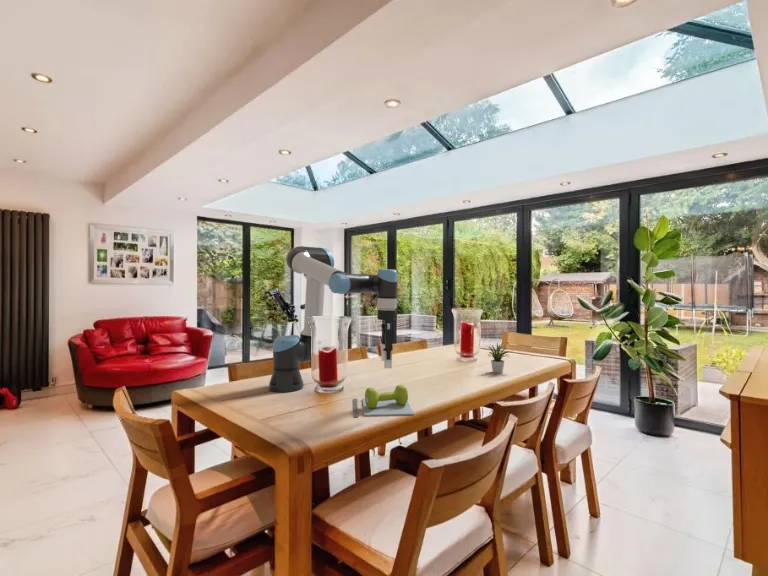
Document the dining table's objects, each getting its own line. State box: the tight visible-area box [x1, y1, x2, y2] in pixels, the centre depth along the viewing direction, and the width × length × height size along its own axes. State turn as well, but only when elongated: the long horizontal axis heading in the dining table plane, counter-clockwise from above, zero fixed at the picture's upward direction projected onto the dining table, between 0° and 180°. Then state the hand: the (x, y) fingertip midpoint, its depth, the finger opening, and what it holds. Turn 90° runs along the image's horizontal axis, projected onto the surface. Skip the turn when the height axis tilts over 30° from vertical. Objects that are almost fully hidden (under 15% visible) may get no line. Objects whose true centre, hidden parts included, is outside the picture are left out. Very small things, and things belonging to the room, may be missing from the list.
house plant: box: [486, 342, 512, 374], centre depth 214 cm, size 14×14×16 cm
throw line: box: [352, 398, 359, 419], centre depth 152 cm, size 2×22×1 cm, turn 5°
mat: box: [361, 398, 415, 417], centre depth 153 cm, size 18×20×1 cm
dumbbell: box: [364, 384, 409, 409], centre depth 153 cm, size 16×8×7 cm, turn 110°
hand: (386, 364), depth 153 cm, fingers open, 13 cm apart
